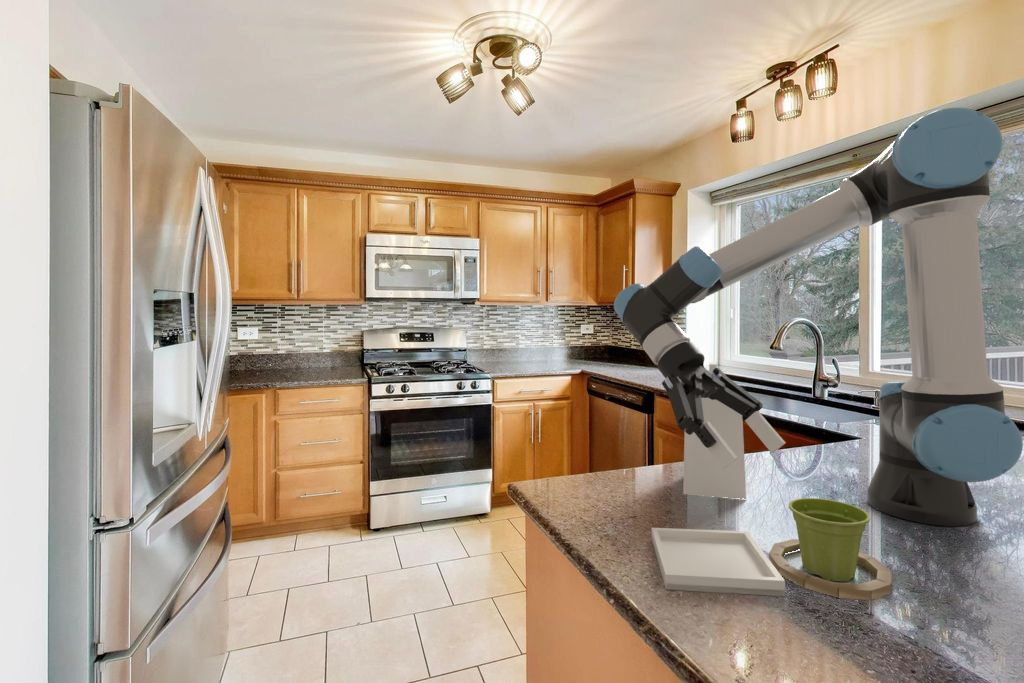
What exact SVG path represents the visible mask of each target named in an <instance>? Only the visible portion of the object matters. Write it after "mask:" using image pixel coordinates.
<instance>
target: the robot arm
mask: <svg viewBox="0 0 1024 683" xmlns="http://www.w3.org/2000/svg"><path fill="white" fill-rule="evenodd" d="M1002 147H1003V136H1002V132H1001V130H1000V128H999V126H998V125H997V124H996V122H995V121H994V120H993V118H991V117H990V116H989V115H987V114H983V113H982V112H980V111H977V110H975V109H972V108H967V107H948V108H947V107H946V108H941V109H938V110H935V111H932V112H929V113H927V114H925V115H923V116H921V117H919V118H918V119H917V120H915V121H914V122H912V123H910V124H909V125H907V126H906V127H905V128H904V129H903V130H902V131H900V133H899V134H898V135H897V136H896V137H895V140H894V141H893V143H891V144H890V145H889V146H888V147H887V148H885V150H884V151H883V152H882V153H881V154H880V155H879V156H878V157H876V158H875V159H874V160H873V161H872V162H871V163H869V164H868V165H866V166H865V167H863V168H862V169H860V170H859V171H857V172H856V173H854V174H852V175H851V176H848V177H847V178H844V179H843V180H842V181H841V182H840V185H839V187H838V188H837V189H835V190H833V191H832V192H830V193H828V194H826V195H824V196H822V197H820V198H818V199H816V200H814V201H812V202H810V203H808V204H806V205H803V206H802V207H800V208H798V209H796V210H794V211H792V212H791V213H788V214H787V215H784V216H783V217H780V218H778V219H775V220H774V221H772V222H770V223H769V224H766V225H764V226H762V227H760V228H758V229H756V230H754V231H752V232H750V233H749V234H747V235H745V236H742V237H741V238H738V239H737V240H735V241H733V242H731V243H729V244H727V245H724V246H723V247H721V248H719V249H716V250H715V251H713V252H711V253H709V254H708V252H706V250H704V249H703V248H702V247H700V246H693V247H692V248H690V249H689V250H688V251H687V252H685V253H684V254H681V255H680V256H679V258H678V259H677V260H676V261H675V262H674V263H673V264H672V265H670V266H669V267H668V268H667V269H665V271H663V273H662V274H660V275H659V276H658V277H657V278H656V279H654V281H652V282H651V283H650V284H648V285H647V286H645V285H644V284H642V283H638V282H637V283H633V284H632V283H631V284H630V285H629V286H628V287H625V288H623V289H622V290H621V291H620V292H619V293H618V294H617V296H616V298H615V299H614V302H613V308H614V311H615V313H616V314H617V316H618V317H619V319H620V320H621V322H622V324H623V326H624V327H625V328H626V329H627V330H628V331H629V333H630V334H631V336H633V338H634V339H635V341H636V342H637V343H638V344H639V345H640V347H641V349H643V350H644V351H645V353H646V354H647V356H648V357H649V358H650V359H651V360H650V361H652V363H653V364H654V365H656V366H657V369H658V371H659V372H660V373H661V374H662V376H663V377H664V378H665V379H664V380H663V381H662V382H661V385H662V387H663V389H665V392H666V393H667V395H668V398H669V402H670V405H671V408H672V410H673V414H674V417H675V421H676V424H677V427H678V429H680V430H682V431H684V433H685V432H686V433H687V434H689V435H691V434H692V433H693V432H694V433H695V434H696V435H697V437H698V438H699V439H700V441H701V442H702V443H703V445H704V446H705V447H706V448H707V449H708V450H709V451H710V453H711V454H712V455H713V457H714V458H715V459H716V461H717V462H718V463H719V465H720V466H721V467H722V469H724V468H726V467H727V466H728V465H730V464H731V463H732V462H733V461H735V460H736V459H737V457H736V455H735V454H734V453H733V451H732V450H731V449H730V448H729V446H728V445H727V444H726V442H725V441H724V440H723V439H722V437H721V436H720V435H719V433H718V432H717V431H716V430H715V428H714V427H713V426H712V425H711V423H710V422H706V423H705V424H703V423H704V416H703V408H702V400H701V398H710V399H711V400H715V399H716V400H718V401H719V402H721V403H723V404H724V405H726V406H728V407H729V408H731V409H733V410H734V411H736V412H738V413H739V414H741V415H742V417H744V418H746V419H745V420H744V422H745V423H746V424H747V425H748V427H749V428H750V429H751V430H752V431H753V432H754V434H755V435H756V436H757V437H758V439H759V440H760V441H761V442H762V443H763V444H764V446H765V447H766V448H767V449H768V450H769V452H770V453H771V454H773V453H775V452H777V451H778V450H779V449H780V448H782V446H785V444H786V441H785V440H784V439H783V437H782V436H780V434H779V433H778V432H777V431H776V430H775V428H774V427H773V426H772V425H771V424H770V423H769V422H768V421H767V419H766V418H765V417H764V416H763V415H762V413H761V412H760V410H762V409H763V408H764V407H763V405H764V404H763V403H762V402H761V401H760V400H759V399H757V398H756V397H754V396H753V395H752V394H751V393H749V392H748V391H747V390H745V389H744V388H743V387H741V386H740V385H739V384H737V383H736V382H735V381H733V380H732V379H731V378H729V377H728V376H727V375H726V374H725V372H724V371H722V369H720V368H719V367H717V368H715V369H714V370H713V371H712V372H710V371H709V369H707V368H706V367H704V363H705V355H704V354H703V353H702V352H701V351H700V349H699V347H698V346H696V344H695V343H694V342H691V339H690V338H689V336H688V334H686V333H685V332H684V331H683V329H682V327H680V326H679V325H678V324H677V322H676V321H675V320H674V317H675V316H677V315H678V314H679V313H681V312H682V311H683V310H684V309H685V308H687V307H688V306H689V305H691V304H696V303H698V302H701V301H703V300H705V299H706V298H707V297H709V296H711V295H714V294H715V293H718V292H719V291H721V290H723V289H725V288H727V287H730V286H732V285H733V284H736V283H738V282H741V281H742V280H744V279H747V278H748V277H751V276H753V275H754V274H755V275H756V274H757V273H759V272H761V271H763V270H765V269H767V268H768V269H769V267H772V266H774V265H776V264H778V263H781V262H783V261H785V260H787V259H789V258H790V257H794V256H795V255H797V254H800V253H801V252H804V251H806V250H809V249H810V248H812V247H815V246H817V245H819V244H821V243H823V242H825V241H828V240H830V239H831V238H834V237H836V236H838V235H840V234H842V233H844V232H846V231H849V230H851V229H854V228H855V227H857V226H861V227H866V228H868V227H870V226H872V225H874V224H877V223H879V222H881V221H883V220H886V219H889V218H890V219H891V220H894V221H895V222H897V223H899V224H900V226H901V233H902V246H903V248H902V249H903V261H904V275H905V276H904V277H905V289H906V301H907V302H906V304H907V305H906V306H907V316H908V317H907V318H908V331H909V342H910V343H909V344H910V357H911V358H910V359H911V373H912V376H911V377H910V378H909V379H908V380H907V381H904V382H903V381H888V382H887V381H886V382H884V383H883V384H882V385H881V387H880V390H879V391H880V392H879V397H878V398H877V400H878V402H879V428H878V429H879V430H878V431H879V438H878V439H879V442H878V443H879V445H878V446H879V451H878V452H879V455H878V458H879V459H878V464H877V466H876V469H875V471H874V473H873V476H872V478H871V480H870V482H869V485H868V487H867V491H866V492H867V496H866V497H867V503H868V504H869V505H870V506H871V507H872V508H874V509H876V510H878V511H880V512H882V513H884V514H887V515H889V516H892V517H895V518H900V519H903V520H906V521H907V520H908V521H911V522H916V523H922V524H928V525H935V526H943V527H944V526H947V527H961V526H963V527H964V526H969V525H973V524H975V523H976V522H977V521H978V507H977V503H976V501H975V499H974V496H973V493H972V492H971V489H970V486H969V483H980V482H982V483H983V482H987V481H990V480H994V479H996V478H999V477H1001V476H1002V475H1004V474H1006V473H1007V472H1009V471H1010V470H1012V468H1014V466H1015V465H1016V464H1017V463H1018V462H1019V460H1020V457H1021V456H1022V452H1023V447H1024V446H1023V445H1024V443H1023V436H1022V433H1021V432H1020V430H1019V427H1017V425H1016V424H1015V422H1014V421H1013V420H1012V419H1011V418H1010V417H1009V416H1008V415H1006V412H1005V411H1006V408H1005V397H1004V388H1003V386H1002V385H1001V384H999V383H998V382H996V381H994V379H992V378H991V377H990V376H989V375H988V360H987V349H986V348H987V347H986V345H987V344H986V334H985V331H986V330H985V321H984V319H985V318H984V316H985V315H984V305H983V304H984V303H983V291H982V290H983V289H982V274H981V263H980V262H981V261H980V259H981V258H980V248H979V246H980V245H979V230H978V219H977V218H978V217H977V216H978V215H977V214H978V212H979V210H981V209H982V208H983V206H984V205H986V204H987V203H988V202H989V201H991V195H990V194H991V193H990V175H989V171H990V170H992V168H994V166H995V165H996V163H997V161H998V158H999V157H1000V154H1001V152H1002V149H1003V148H1002Z"/></svg>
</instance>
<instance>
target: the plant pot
mask: <svg viewBox="0 0 1024 683" xmlns="http://www.w3.org/2000/svg"><path fill="white" fill-rule="evenodd" d="M788 508H789V510H790V511H791V512H792V517H793V520H794V521H795V524H796V525H795V526H796V530H797V536H798V539H799V545H800V551H801V552H800V556H801V557H800V558H801V563H802V567H803V569H804V568H805V569H806V570H805V569H804V570H805V571H806V572H808V573H809V574H811V575H818V576H819V577H821V578H822V579H824V580H828V581H832V582H848V581H850V580H852V578H855V576H856V571H857V570H856V569H857V566H858V564H857V560H858V554H859V551H860V547H861V542H862V537H863V533H864V531H865V529H866V525H867V524H868V523H869V522H870V520H871V516H870V514H869V512H867V511H865V510H864V509H862V508H861V507H859V506H856V505H853V504H849V503H846V502H843V501H839V500H833V499H827V498H817V497H802V498H796V499H793V500H791V501H790V502H789V503H788Z"/></svg>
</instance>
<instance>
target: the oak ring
mask: <svg viewBox="0 0 1024 683" xmlns="http://www.w3.org/2000/svg"><path fill="white" fill-rule="evenodd" d="M798 549H800V545H799V538H798V539H795V538H794V539H786V540H784V541H780V542H776V543H774V544H773V546H772V547H771V549H770V551H769V553H768V559H769V560H770V561H771V563H772V564H773V565H774V567H775V568H776V569H777V571H778V572H779V573H780V575H782V576H783V578H784V577H785V578H784V579H786V578H787V579H790V580H791V581H793V582H795V583H796V584H795V583H794V584H795V585H797V584H798V585H800V586H802V587H803V588H802V587H801V588H802V589H805V588H806V589H805V590H807V589H809V590H808V591H811V590H813V591H812V592H815V591H817V592H816V593H818V592H819V594H822V593H825V594H827V595H826V596H829V595H832V596H835V597H834V598H836V597H837V598H836V599H844V598H845V599H847V600H862V601H864V600H865V601H873V600H875V599H879V598H882V597H884V596H887V595H890V594H891V593H892V586H893V585H892V584H893V583H892V582H893V581H892V580H893V576H892V575H893V572H892V570H891V569H889V568H888V567H887V566H885V565H884V564H883V563H882V562H881V561H879V560H878V559H877V558H876V557H873V556H871V555H869V554H866V553H864V552H861V551H860V550H859V554H858V560H857V565H859V566H861V567H864V568H865V569H867V570H868V571H869V573H871V574H872V575H873V576H874V577H876V579H872V580H869V581H867V582H863V583H849V582H848V583H847V582H836V581H832V580H827V579H824V578H819V577H815V576H813V575H809V574H808V573H805V572H803V571H801V570H799V569H797V568H796V567H793V566H792V565H790V564H789V563H788V561H787V560H786V559H785V557H784V555H785V553H788V552H792V551H796V550H798ZM785 556H786V555H785ZM783 557H784V558H783ZM787 579H786V580H787ZM791 581H790V582H791ZM793 582H792V583H793ZM798 585H797V586H798ZM800 586H799V587H800ZM804 587H805V588H804ZM825 594H824V595H825ZM832 596H831V597H832ZM838 597H839V598H838Z"/></svg>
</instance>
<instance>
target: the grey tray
mask: <svg viewBox="0 0 1024 683" xmlns="http://www.w3.org/2000/svg"><path fill="white" fill-rule="evenodd" d="M651 542H652V543H651V544H652V546H653V549H654V552H655V553H654V554H655V556H656V560H657V564H658V566H659V571H660V574H661V578H662V581H663V584H664V587H665V588H664V589H665V590H669V591H670V590H671V591H686V592H687V591H688V592H701V593H702V592H703V593H704V592H705V593H720V594H721V593H722V594H723V593H725V594H738V595H752V596H753V595H755V596H756V595H758V596H774V597H786V579H785V578H784V577H782V576H781V575H780V573H779V572H778V571H777V569H776V568H775V567H774V565H773V564H772V563H771V561H770V560H769V556H767V555H766V554H765V552H764V550H762V548H761V547H760V545H759V544H758V543H757V541H756V540H755V539H754V537H753V536H752V535H751V534H750V532H749V531H748V530H746V531H744V530H743V531H742V530H722V529H720V530H719V529H717V530H716V529H715V530H714V529H697V528H695V529H693V528H692V529H691V528H671V527H670V528H669V527H651Z"/></svg>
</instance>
